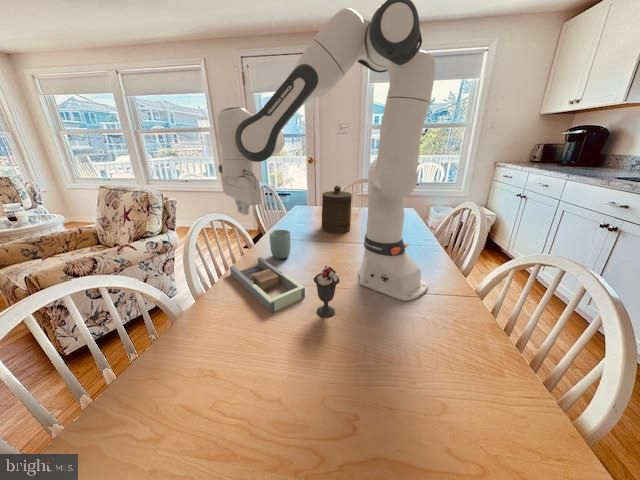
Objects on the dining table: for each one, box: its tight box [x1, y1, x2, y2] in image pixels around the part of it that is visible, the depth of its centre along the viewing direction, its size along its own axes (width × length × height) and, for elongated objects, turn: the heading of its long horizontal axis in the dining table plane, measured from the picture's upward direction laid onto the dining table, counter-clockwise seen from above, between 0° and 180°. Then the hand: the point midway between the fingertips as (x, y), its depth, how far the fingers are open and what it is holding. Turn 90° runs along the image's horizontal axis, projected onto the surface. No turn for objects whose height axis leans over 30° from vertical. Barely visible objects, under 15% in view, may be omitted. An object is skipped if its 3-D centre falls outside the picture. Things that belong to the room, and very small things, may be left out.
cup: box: [269, 229, 292, 260], centre depth 99 cm, size 8×8×10 cm
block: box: [252, 269, 280, 293], centre depth 80 cm, size 6×6×4 cm
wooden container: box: [321, 185, 353, 234], centre depth 128 cm, size 15×15×22 cm
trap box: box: [229, 257, 306, 314], centre depth 80 cm, size 27×11×4 cm, turn 40°
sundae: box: [312, 265, 340, 319], centre depth 66 cm, size 7×7×15 cm
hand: (243, 213), depth 81 cm, fingers closed
